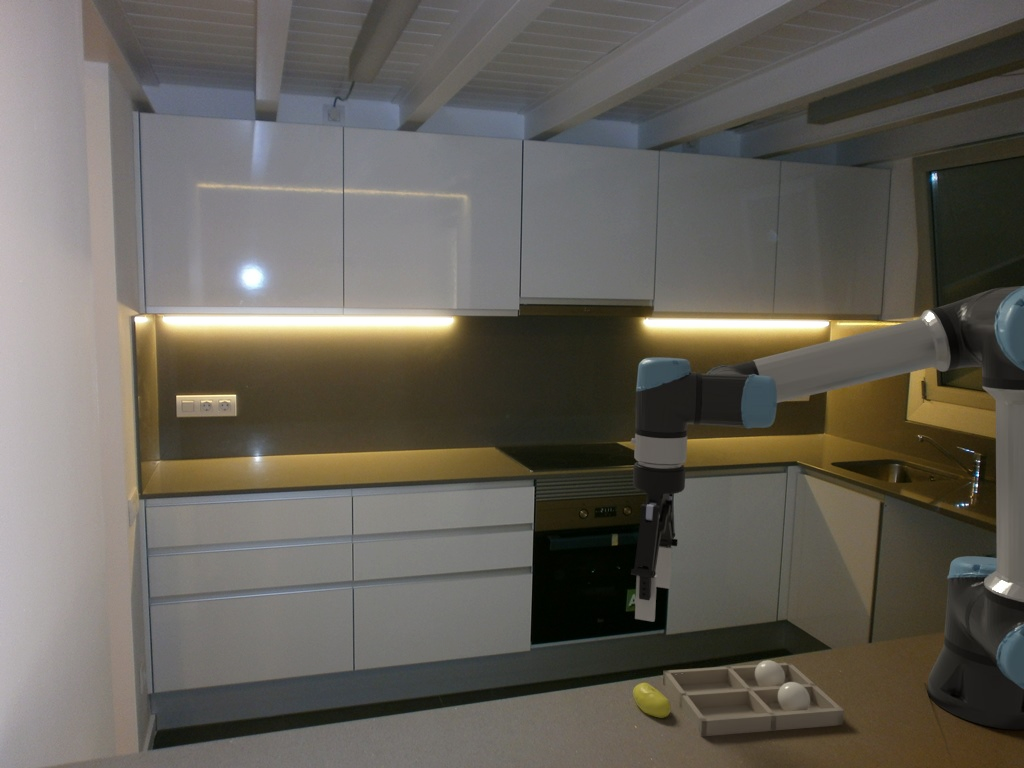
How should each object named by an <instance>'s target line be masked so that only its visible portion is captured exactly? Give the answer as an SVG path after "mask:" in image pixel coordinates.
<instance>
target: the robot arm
mask: <svg viewBox="0 0 1024 768" xmlns="http://www.w3.org/2000/svg"><path fill="white" fill-rule="evenodd" d="M973 367H974V368H976V367H977V368H981V371H982V375H981V376H982V377H981V378H982V382H981V383H982V389H983V390H984V391H985V392H986V393H988V395H990V396H991V397H992V398H993V399H994V400H995V470H996V471H995V473H996V474H995V477H996V480H995V482H996V483H995V484H996V485H995V490H996V491H995V493H996V494H995V495H996V496H995V498H996V500H995V501H996V503H995V505H996V506H995V507H996V510H995V511H996V516H995V517H996V519H995V520H996V523H995V525H996V557H990V556H989V557H988V556H979V555H978V556H975V555H972V556H971V555H970V556H969V555H967V556H959V557H956V558H954V559H953V560H952V561H951V562H950V565H949V572H948V575H947V577H946V578H947V593H946V604H945V605H946V607H945V622H944V634H943V635H944V639H943V646H942V648H941V650H940V653H939V654H938V657H937V659H936V661H935V663H934V664H933V667H932V669H931V670H930V672H929V674H928V680H927V694H928V696H929V697H930V699H931V700H932V701H933V702H934V704H935V705H937V706H939V707H940V708H942V709H943V710H945V711H946V712H948V713H950V714H952V715H954V716H956V717H959V718H961V719H963V720H967V721H969V722H971V723H974V724H977V725H978V724H979V725H982V726H985V727H991V728H994V729H995V728H996V729H1003V730H1014V731H1015V730H1019V731H1020V730H1024V285H1022V286H1021V285H1020V286H1003V287H996V288H992V289H989V290H986V291H984V292H983V291H982V292H979V293H977V294H973V295H971V296H969V297H965V298H963V299H961V300H957V301H954V302H951V303H948V304H945V305H942V306H938V307H934V308H931V309H926V310H924V311H923V312H922V314H921V315H920V317H918V319H914V320H913V319H912V320H909V321H906V322H901V323H898V324H894V325H890V326H885V327H882V328H877V329H873V330H870V331H865V332H861V333H857V334H854V335H853V334H852V335H850V336H845V337H841V338H838V339H834V340H833V339H832V340H829V341H825V342H821V343H816V344H813V345H808V346H805V347H800V348H797V349H792V350H789V351H785V352H779V353H776V354H773V355H768V356H764V357H760V358H757V359H753V360H749V361H744V362H739V363H736V364H733V365H724V364H723V365H720V366H716V367H713V368H711V370H709V371H707V373H701V372H695V371H694V372H692V368H691V363H690V361H689V360H688V359H685V358H678V357H677V358H676V357H645V358H644V359H642V360H641V361H640V362H639V364H638V367H637V378H636V389H635V421H634V422H635V424H634V425H635V426H634V427H635V428H634V433H635V435H634V438H633V437H632V438H631V439H630V443H631V445H634V446H635V447H634V452H633V453H634V457H633V458H634V459H635V461H636V462H635V463H634V464H633V470H632V471H633V474H632V485H633V487H634V489H635V490H638V491H640V492H643V493H645V494H646V495H647V496H646V499H645V502H644V501H643V502H642V504H641V505H640V519H639V520H640V521H639V528H638V536H637V545H636V553H635V558H634V568H631V569H630V575H632V576H636V582H635V603H634V605H635V611H634V619H635V620H640V621H647V622H652V623H653V622H655V621H656V606H657V605H656V604H657V603H656V600H657V588H661V589H662V588H663V589H669V590H670V589H671V586H672V585H671V584H672V568H673V567H672V565H673V561H672V560H673V547H678V539H677V538H675V537H676V532H675V531H676V530H675V511H674V510H675V509H674V507H675V506H674V495H675V494H679V493H682V492H683V491H684V490H685V487H686V467H685V465H683V464H684V463H686V462H687V453H688V450H687V449H688V430H687V429H688V425H695V426H700V425H702V426H704V425H705V426H719V427H733V428H746V429H749V430H750V429H753V428H759V429H760V428H761V429H763V428H764V429H765V428H770V427H771V426H772V425H773V424H774V423H775V420H776V414H777V409H778V408H777V405H778V404H779V403H782V402H786V401H791V400H796V399H800V398H804V397H808V396H813V395H817V394H821V393H825V392H826V393H827V392H831V391H834V390H840V389H842V388H843V389H844V388H847V387H852V386H856V385H861V384H865V383H871V382H874V381H878V380H883V379H887V378H888V379H889V378H891V377H895V376H896V377H897V376H900V375H903V374H904V375H905V374H908V373H909V374H910V373H913V372H917V371H922V370H925V369H931V368H933V369H936V370H937V371H939V372H947V371H951V370H956V369H961V368H962V369H963V368H973Z"/></svg>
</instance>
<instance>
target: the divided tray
mask: <svg viewBox="0 0 1024 768" xmlns="http://www.w3.org/2000/svg"><path fill="white" fill-rule="evenodd" d="M778 664H779V665H780V666H781V667H782V669H783V670H784V673H785V682H784V684H785V683H788V682H796V683H799V684H801V685H802V686H803V687H805V689H806V690H807V691H808V693H809V696H810V706H809V708H808V710H800V711H787V712H786V711H784V710H783V709H782V707H781V706H780V704H779V702H778V691H779V689H780V687H781V686H773V687H760V686H759V684H758V683H757V681H756V679H755V669H756V667H757V665H758V664H747V665H733V666H732V665H730V666H716V667H714V666H713V667H702V668H701V667H700V668H699V667H698V668H687V669H686V668H685V669H683V668H682V669H669V670H663V673H662V674H663V675H662V685H663V686H664V688H665V690H667V692H668V693H669V694H670V696H671V697H672V699H673V701H675V703H676V704H677V706H678V707H679V708H680V710H681V711H682V713H683V714H684V715H685V716H686V718H687V719H688V720H689V722H690V723H691V725H692V727H694V729H695V730H696V731H697V733H698V734H699V735H700V737H711V736H725V735H734V734H735V735H737V734H745V733H747V734H748V733H759V732H769V731H770V732H772V731H773V732H774V731H782V730H783V731H785V730H796V729H806V728H807V729H808V728H809V729H810V728H811V729H812V728H820V727H832V726H843V725H844V714H845V713H844V712H845V710H844V709H843V708H842V707H841V706H840V705H839V704H838V703H836V702H835V701H834V700H833V699H832V698H831V697H830V696H829V695H827V694H826V693H825V692H824V691H823V690H822V689H821V688H820V687H818V686H817V685H816V684H815V683H814V682H813V681H811V679H809V678H808V676H806V675H805V674H804V673H802V672H801V670H799V669H798V668H797V667H796V666H795V665H794V664H792V663H791V662H778ZM694 671H695V672H694ZM681 673H683V674H681ZM675 674H677V675H675Z"/></svg>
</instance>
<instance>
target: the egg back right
mask: <svg viewBox="0 0 1024 768" xmlns="http://www.w3.org/2000/svg"><path fill="white" fill-rule="evenodd" d="M778 663H779V662H778ZM778 663H777V662H776V661H775V660H774V661H773V660H770V659H767V660H763V661H760V662H759V663H758V664H756V665H757V667H756V669H755V679H756V681H757V683H758V684H759V686H760V687H773V686H782V685H783V684H784V682H785V673H784V670H783V669H782V667H781V666H780V665H779V664H778Z"/></svg>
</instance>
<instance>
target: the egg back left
mask: <svg viewBox="0 0 1024 768" xmlns="http://www.w3.org/2000/svg"><path fill="white" fill-rule="evenodd" d="M778 702H779V704H780V706H781V707H782V709H783V710H784V711H786V712H787V711H800V710H808V708H809V706H810V696H809V693H808V691H807V690H806V689H805V687H803V686H802V685H801V684H799V683H796V682H788V683H785V684H783V685H782V686H781V687H780V689H779V691H778Z"/></svg>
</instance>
